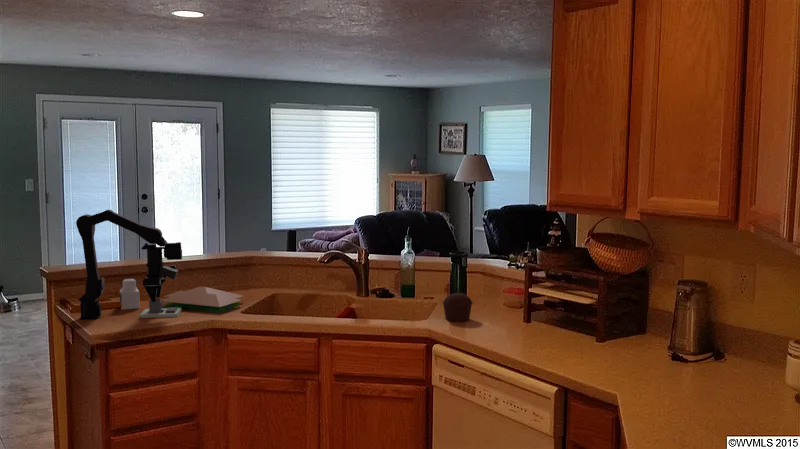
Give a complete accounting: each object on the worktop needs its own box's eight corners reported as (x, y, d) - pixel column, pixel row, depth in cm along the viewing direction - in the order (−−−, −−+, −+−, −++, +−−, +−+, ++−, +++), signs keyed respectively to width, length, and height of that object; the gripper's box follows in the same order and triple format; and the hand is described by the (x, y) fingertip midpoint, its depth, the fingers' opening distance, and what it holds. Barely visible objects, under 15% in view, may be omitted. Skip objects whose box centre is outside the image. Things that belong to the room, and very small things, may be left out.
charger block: (149, 315, 284) (149, 300, 284) (151, 313, 288) (151, 298, 288) (160, 315, 285) (159, 300, 284) (162, 313, 289) (161, 298, 288)
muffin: (458, 324, 271) (459, 297, 270) (436, 319, 278) (436, 293, 277) (478, 319, 279) (478, 293, 278) (456, 314, 287) (456, 289, 286)
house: (190, 298, 322) (190, 279, 321) (253, 304, 309) (253, 285, 308) (154, 308, 301) (153, 288, 300) (220, 315, 288) (219, 294, 287)
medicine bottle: (120, 306, 301) (119, 278, 300) (138, 305, 304) (137, 276, 303) (121, 310, 295) (120, 280, 294) (139, 308, 298) (139, 279, 297)
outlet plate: (139, 317, 280) (139, 312, 280) (145, 311, 291) (145, 306, 291) (177, 316, 282) (177, 311, 282) (181, 310, 293) (181, 305, 293)
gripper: (172, 263, 276) (173, 303, 278) (179, 256, 295) (180, 294, 296) (141, 264, 275) (143, 304, 276) (151, 257, 293) (152, 295, 295)
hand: (156, 299), depth 286 cm, fingers open, 9 cm apart
